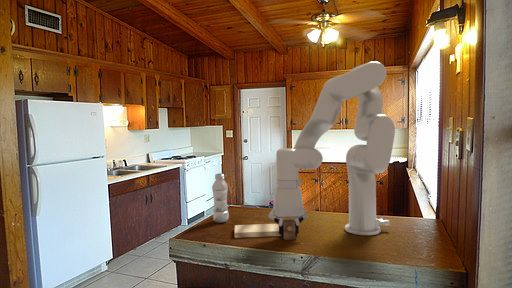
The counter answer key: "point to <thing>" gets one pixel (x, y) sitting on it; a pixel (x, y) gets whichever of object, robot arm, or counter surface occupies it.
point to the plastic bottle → (220, 199)
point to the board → (256, 230)
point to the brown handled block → (289, 229)
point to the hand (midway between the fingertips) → (288, 235)
